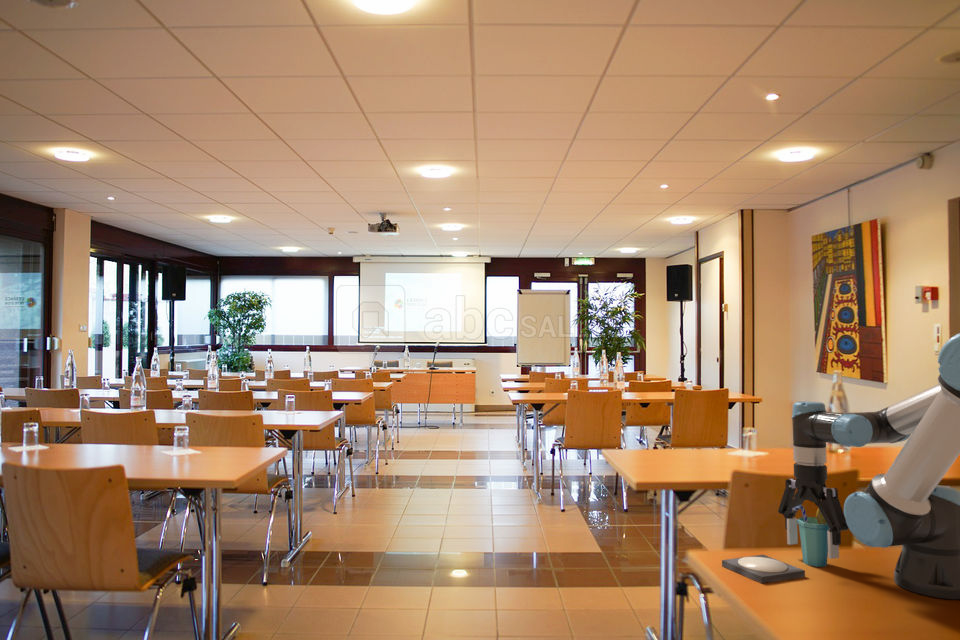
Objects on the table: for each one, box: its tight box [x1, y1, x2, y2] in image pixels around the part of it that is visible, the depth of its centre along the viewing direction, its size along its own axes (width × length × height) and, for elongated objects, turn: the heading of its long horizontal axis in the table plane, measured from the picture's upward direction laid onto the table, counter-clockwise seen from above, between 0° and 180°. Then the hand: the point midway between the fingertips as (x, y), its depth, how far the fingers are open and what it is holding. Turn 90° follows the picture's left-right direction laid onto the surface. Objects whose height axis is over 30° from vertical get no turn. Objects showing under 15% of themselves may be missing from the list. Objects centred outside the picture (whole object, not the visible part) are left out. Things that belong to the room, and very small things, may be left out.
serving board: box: [721, 554, 806, 584], centre depth 157 cm, size 13×13×2 cm
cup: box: [791, 505, 830, 568], centre depth 163 cm, size 14×8×15 cm, turn 116°
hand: (812, 550), depth 163 cm, fingers open, 12 cm apart
